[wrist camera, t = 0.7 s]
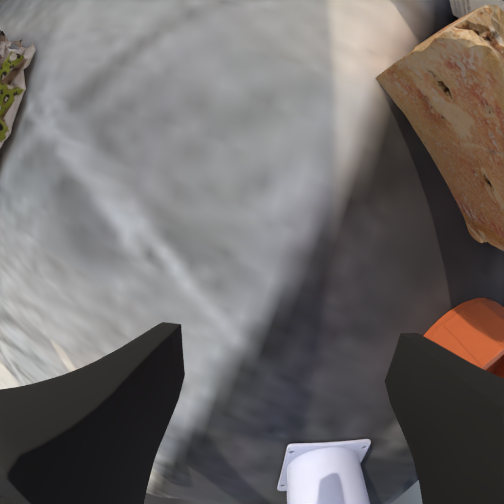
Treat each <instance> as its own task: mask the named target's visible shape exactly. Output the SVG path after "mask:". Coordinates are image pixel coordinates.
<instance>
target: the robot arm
mask: <svg viewBox="0 0 504 504" xmlns="http://www.w3.org/2000/svg"><path fill="white" fill-rule="evenodd" d="M184 375H185V373H184V361H183V348H182V333H181V324H173V323H165V322H163V323H161V324H159V325H157V326H155V327H154V328H152V329H150V330H149V331H147V332H146V333H144V334H142V335H141V336H139V337H138V338H136V339H134V340H133V341H131V342H129V343H128V344H126V345H124V346H123V347H121V348H119V349H118V350H116V351H114V352H112V353H110V354H108V355H106V356H105V357H103V358H101V359H99V360H97V361H95V362H93V363H91V364H89V365H87V366H84V367H82V368H80V369H77V370H75V371H72V372H70V373H67V374H65V375H62V376H59V377H55V378H52V379H48V380H45V381H42V382H38V383H35V384H30V385H26V386H20V387H15V388H8V389H1V390H0V504H144V499H145V494H146V490H147V486H148V482H149V478H150V474H151V470H152V466H153V462H154V459H155V456H156V453H157V451H158V448H159V446H160V443H161V441H162V438H163V436H164V434H165V431H166V429H167V426H168V424H169V421H170V419H171V417H172V414H173V412H174V409H175V407H176V404H177V402H178V399H179V395H180V391H181V388H182V383H183V379H184ZM385 383H386V387H387V391H388V395H389V399H390V402H391V405H392V408H393V410H394V412H395V415H396V417H397V420H398V422H399V424H400V427H401V429H402V431H403V434H404V436H405V438H406V441H407V443H408V446H409V448H410V450H411V453H412V456H413V459H414V462H415V466H416V470H417V474H418V479H419V483H420V489H421V495H422V502H423V504H504V378H502V377H499V376H497V375H494V374H492V373H490V372H488V371H486V370H484V369H482V368H480V367H478V366H476V365H474V364H472V363H470V362H469V361H467V360H465V359H463V358H461V357H460V356H458V355H456V354H454V353H453V352H451V351H449V350H447V349H446V348H444V347H442V346H440V345H439V344H437V343H435V342H433V341H432V340H430V339H428V338H426V337H424V336H422V335H419V334H417V333H401V334H400V337H399V340H398V343H397V347H396V350H395V353H394V356H393V359H392V362H391V365H390V368H389V371H388V373H387V376H386V379H385ZM370 444H371V441H370V439H361V440H351V441H340V442H324V443H293V444H289V445H288V446H287V450H286V454H285V458H284V462H283V467H282V471H281V475H280V479H279V483H278V487H277V489H278V490H279V491H287V504H370V501H369V497H368V493H367V489H366V485H365V481H364V477H363V473H362V469H361V465H360V463H361V461H362V459H363V458H364V456H365V454H366V452H367V450H368V448H369V446H370Z"/></svg>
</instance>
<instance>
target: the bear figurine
mask: <svg viewBox="0 0 504 504" xmlns="http://www.w3.org/2000/svg"><path fill="white" fill-rule="evenodd" d="M11 43H12V42H11V41H8V40H7V38H6V36H5V34H4V33H3V31H0V148H1V146H2V144H3V142H4V141H5V140H6V139H7V138H8V137H9V136H10V134H11V129H12V125H13V122H14V119H15V116H16V113H17V110H18V107H19V105H20V102H21V99H22V97H23V94H24V92H25V90H26V86H25V79H24V69H25V68H26V67H27V66H29V64H30V61H31V59H32V57H33V55H34V52H35V50H36V49H35V47H34V44H33V45H32V46H30V47H29V48H27V49H26V48H25V47H23V46H22V39H21V40H19V41H14V42H13V43H14V44H15V45H16V46H17V47H18V48H20V49H19V50H15V49H9V48H8V47H10V46H11ZM6 146H7V145H6ZM1 157H2V156H1Z"/></svg>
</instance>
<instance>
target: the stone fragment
mask: <svg viewBox="0 0 504 504" xmlns="http://www.w3.org/2000/svg"><path fill="white" fill-rule="evenodd" d="M376 79H377V80H378V82H379V83H380V84H381V85H382V87H383V88H384V89H385V91H386V92H387V93H388V94H389V96H390V97H391V98H392V100H393V101H394V102H395V104H396V105H397V106H398V107H399V108H400V109H401V110H402V112H403V113H404V114H405V116H406V117H407V119H408V121H409V122H410V124H411V125H412V127H413V129H414V130H415V132H416V133H417V135H418V136H419V138H420V139H421V141H422V143H423V144H424V146H425V147H426V149H427V151H428V152H429V154H430V155H431V157H432V159H433V160H434V162H435V164H436V166H437V167H438V169H439V171H440V173H441V174H442V176H443V178H444V180H445V181H446V183H447V185H448V187H449V189H450V191H451V193H452V195H453V196H454V198H455V200H456V202H457V204H458V206H459V208H460V210H461V213H462V215H463V217H464V219H465V222H466V226H467V228H468V231H469V234H470V235H471V236H472V237H473V238H474V239H475V240H476V241H478V242H480V243H483V242H489V243H490V244H491V245H492V246H495V247H497V248H499V249H500V250H502V251H504V11H503V10H502V9H500V8H499V7H498V6H497V5H492V4H487V5H485V6H482V7H480V8H478V9H475V10H473V11H471V12H470V13H468V14H466V15H464V16H463V17H461V18H459V19H458V20H456V21H455V22H453V23H451V24H449V25H447V26H446V27H444V28H442V29H441V30H439V31H438V32H436V33H435V34H434V35H432V36H431V37H429V38H428V39H426V40H425V41H423V42H422V43H420V44H419V45H417V46H415V48H414V50H413V51H411V52H410V53H409V54H407V55H406V56H405V57H403V58H402V59H401V60H399V61H398V62H396V63H395V64H394V65H392V66H391V67H389V68H388V69H387V70H385V71H384V72H383V73H381V74H380V75H379V76H378V77H376Z"/></svg>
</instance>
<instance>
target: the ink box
mask: <svg viewBox="0 0 504 504" xmlns="http://www.w3.org/2000/svg"><path fill="white" fill-rule="evenodd" d="M487 4H492V5H497V6H498V7H499V8H500V9H502V10H503V11H504V0H450V5H451V9H452V14H453V15H454V16H456V17H458V18H461V17H463V16H464V15H466V14H468V13H470V12H471V11H473V10H475V9H478V8H480V7H482V6H485V5H487Z"/></svg>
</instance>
